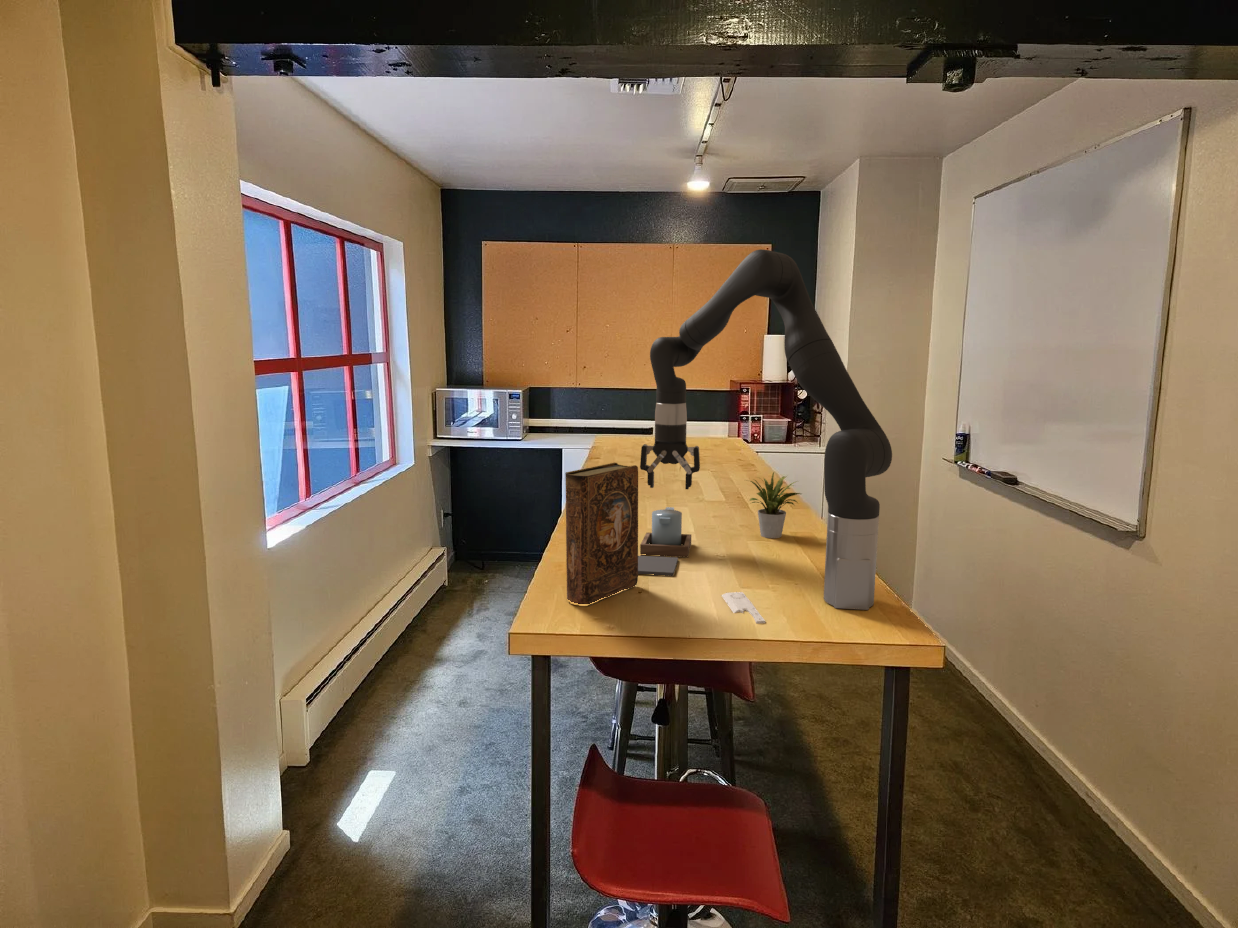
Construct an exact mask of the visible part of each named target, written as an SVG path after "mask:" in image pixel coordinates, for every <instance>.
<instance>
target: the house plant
mask: <svg viewBox="0 0 1238 928" xmlns="http://www.w3.org/2000/svg"><path fill="white" fill-rule="evenodd" d="M774 476H775V471H774V472H772V474H771V477H770V483H769V482H768V480H767V479H766V478H763V480H762V478H760V480H761V481H762V482H764V486H765V488H764V487H763V488H762V486H761V484H760V483H759V482H758V481H757V480H756V479H754V481H755V482H754V481H752V480H748V479H745V481H747V482H750V483H751V484H753V485H754V486H755V488H756V489H758V491H759V492H756V495H758V496H759V497H760V498H761V499H762V500H763V502H762V501H760V500H759V499H758V498H755V497H751V498H749V500H748V502H750V503H749V504H753V503H756V504H757V503H758V504H759V505H760V504H761V505H762V507H763V508H760V509H758V510H757V516H758V524H759V533H760V536H761V537H763V538H765V539H778V538H779V539H780V538H781V537H782V535H783V531H784V530H783V529H784V527H785V526H784V525H785V520H786V515H787V512H786V511H785V510H783V509H781V508H782V507H783V506H785V505H786V504H791V505H793V506H795V504H794V502H795V503H797V504H799V502H798V501H797V500H796V499H791V498H789V497H793V496H796V495H802V493H801V492H789V493H787V492H786V493H784V492H785V491H787V490H790V489H791V488H790V487H794V486H795V485H793V484H795V483H797V482H799V480H797V481H794V482H791V483H790V484H788V485H787V486H783V482H784V480H785V479H786V478H788V477H787V476H788V475H786V476H782V477H781V478H779V479H778V481H777V483H776V484H774V483H775V482H774V478H775V477H774ZM756 478H757V479H759V477H757V476H756ZM774 485H775V486H774ZM782 486H783V487H782ZM751 501H752V502H751Z"/></svg>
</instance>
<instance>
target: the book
mask: <svg viewBox="0 0 1238 928" xmlns="http://www.w3.org/2000/svg"><path fill="white" fill-rule="evenodd" d="M564 475H565V538H566V539H565V540H566V541H565V546H566V548H565V549H566V554H565V555H566V600H567V599H568V600H570V601H571V602H574V603H578V604H590V603H592V602H595V601H597V600H599V599H601V598H604V597H608V596H610V595H612V594H615V593H617V592H619V591H621V590H624V589H628V588H630V589H632V588H634V587H636V586H637V584H638V582H639V581H638V579H639V574H638V556H639V467H638V465H622V464H618V462H610V463H606V464H601V465H594V466H590V467H585V468H580V469H576V470H572V471H571V470H570V471H565V474H564ZM635 585H636V586H635ZM633 586H634V587H633ZM631 587H632V588H631ZM628 590H629V589H628Z"/></svg>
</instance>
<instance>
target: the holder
mask: <svg viewBox="0 0 1238 928" xmlns="http://www.w3.org/2000/svg"><path fill="white" fill-rule="evenodd" d="M649 543H652V532H646V533H645V535H644V537H643V539H642V541H641V543H640V546H639V549H640V550H639V552H640V553H639V555H640V554H646V555H660V556H659V557H666V556H671V557H676V558H689V555H690V552H691V551H690V550H691V546H692V534H690V533H689V534H687V533H685V534H684V533H681V545H660V544H649Z"/></svg>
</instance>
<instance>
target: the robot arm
mask: <svg viewBox="0 0 1238 928" xmlns="http://www.w3.org/2000/svg"><path fill="white" fill-rule="evenodd" d="M754 296H756V297H761V298H762V297H763V298H769V299H770V300H771V301H772V302H773V304H774V305H775V307H776V309H777V311H778V313H779V315H780V317H781V319H782V321H783V324H784V341H783V343H784V344H783V346H784V353H785V358H786V360H787V363H788V365H789V367H790V369H791V371H792V374H793V375H794V377H795V379H796V381H797V383H798V384H799V386H800V387H801V388H802V389H803V390H804V391H805V392H806V393H807V395H809V396H810V397H811V398H812V399H813V400H814V401H816V403H818V404H819V405H820V406H822V408H823V409H825V410H826V411H827V412H828V414H830V416H832V418H833V420H834V421H835V422H836V424H837V425H838V427H839V429H840V430H839V431H835V432H834V433H833V434H832V435H831V436H830V437H829V438H828V441H827V443H826V446H825V451H824V460H823V461H824V462H823V463H824V466H823V467H824V469H823V470H824V473H823V474H824V476H823V477H824V478H823V479H824V481H823V482H824V488H823V489H824V496H825V500H826V503H827V525H826V540H825V541H826V544H825V546H826V547H825V561H824V581H823V582H824V585H823V601H825V603H827V604H828V605H831V606H833V607H834V609H842V610H843V609H845V610H846V609H847V610H861V611H864V610H866V611H869V609H870V608H871V607H872V606H874V604H875V592H876V591H875V590H876V589H875V588H876V587H875V586H876V568H877V557H878V553H877V552H878V538H879V537H878V536H879V523H880V522H879V521H880V508H881V507H880V502H879V500H878V498H876V497H874V496H870V495H869V494H868V493H867V488H866V487H867V485H866V482H867V481H866V478H870V477H877V476H880V475H882V474H884V473H885V472H887V471H888V469H889V468H890V466H891V463H892V460H893V450H892V446H891V443H890V441H889V438H888V436H887V434H886V433H885V431H884V429H883V428H882V427H881V425H880V424H879V422H878V420H877V419H876V417H875V416H874V415H873V413H872V412H871V411H870V409H869V407H868V406H867V405H866V402H865V401H864V399H863V398H862V396H861V394H860V393H859V391H858V389H857V387H856V385H855V383H854V381H853V379H852V377H851V376H850V374H849V372H848V370H847V368H846V367H845V365H844V362H843V360H842V358H841V355H840V353H839V352H838V350H837V348H836V346H835V345H834V343H833V340H832V338H831V336H830V335H829V333H828V332H827V330H826V328H825V326H824V324H823V322H822V319H821V317H820V316H819V314H818V312H817V310H816V308H815V307H814V304H813V303H812V300H811V298H810V295H809V292H808V290H807V287H806V285H805V282H804V280H803V277H802V273H801V272H800V269H799V267H798V264H797V262H796V261H795V260H794V259H793V258H792V257H791V256H789V255H787V254H785V253H782V252H779V251H778V252H777V251H773V250H769V249H763V248H762V249H756V250H753V251H752V252H750V253H749V254H748V255H746V256H745V258H744V259H743V260H742V261H741V262H740V263H739V264H738V266H737V267H736V268H735V269H734V270H733V272H732V273H731V274H730V275H729V277H728V278H727V279H726V280H725V282H723V284H722V285H721V286H720V288H718V289H717V291H716V292H715V293H714V294H713V296H712V297H711V298H710V299H709V300H708V301H707V302H706V303H705V304H703V306H701V307H700V308H699V309H697V311H695V312H694V313H693V314H692V315H691V316H690V317H688V318H687V319H686V320H685V321H684V322H683V323H681V325H680V328H679V330H678V331H679V333H678V334H679V335H677V336H661V337H658V338H656V339H655V340H654V341H653V342H652V344H651V347H650V352H649V359H650V364H651V368H652V374H653V378H654V380H655V384H656V396H655V397H656V399H655V400H656V403H655V409H654V411H655V412H654V444H653V445H648V444H646V443H645V444H643V445H641V448H640V449H641V451H640V462H639V469H640V470H641V471H645V472H646V474H647V485H648V486H649V488H650V489H653V488H654V487H655V471H654V470H655V469H656V467H657V466H658V465H659V464H660V463H661V464H663V465H666V464H671V465H677V464H679V465H680V466H681V467H682V469H683V470H684V471H685V472H686V473H685V490H689V489H690V488H691V487H692V484H693V473H698V472H699V471H700V469H701V463H700V460H701V459H700V458H701V457H700V446H698V445H695V446H688V445H687V421H688V417H687V414H688V413H687V383H686V381H685V379H684V378H681V377H678V376H677V375H676V372H675V368H679V367H680V368H681V367H684V366H687V365H688V364H690V363H692V361H694V360H695V358H697V357H698V355H699V353H700V352H701V350H702V349H703V347H704V346H706V345H707V344H709V343H710V342H711V341H713V339H714V338H716V337H717V336H718V335H720V334H721V332H722V331H723V330H725V328H726V326H727V325H728V323H729V321H730V319H731V316H732V314H733V311H735V310H736V308H738V306H740V305H741V304H742V303H744V302H746V301H747V300H749V299H750V298H753V297H754ZM651 451H652V453H654V455H655V456H656V458H655V459H654V460H653V462H652V463H651V464H650V465H648V464H647V463H648V462H647V461H648V460H647V459H648V455H649V454H650V453H651ZM688 452H689V453H690V456H691V457H693V466H691V465H690V464H689V462H688V461H687V459H686V457H685V456H686V454H687V453H688Z"/></svg>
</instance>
